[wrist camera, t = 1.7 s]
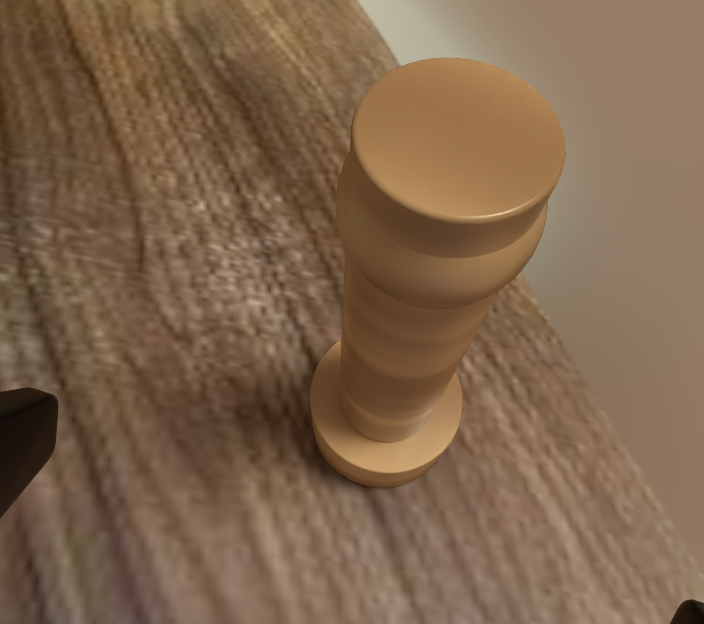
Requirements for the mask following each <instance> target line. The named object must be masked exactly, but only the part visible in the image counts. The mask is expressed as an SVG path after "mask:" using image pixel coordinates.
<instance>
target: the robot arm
mask: <svg viewBox="0 0 704 624" xmlns="http://www.w3.org/2000/svg"><path fill="white" fill-rule="evenodd" d="M57 419H58V400H57V398H56V397H55V396H54V395H53V394H50V393H47V392H44V391H41V390H37V389H34V388H21V389H15V390H10V391H4V392H0V518H1V517H2V516H3V515H4V513H5V512H6V511H7V510H8V509H9V507H10V506H11V505H12V504H13V502H14V501H15V500H16V499H17V498H18V496H19V495H20V494H21V493H22V492H23V490H24V489H25V488H26V487H27V486H28V484H29V483H30V482H31V481H32V480H33V478H34V477H35V476H36V475H37V473H38V472H39V471H40V470H41V469H42V467H43V466H44V465H45V464H46V463H47V461H48V460H49V458H50V457H51V455H52V453H53V451H54V448H55V443H56V432H57ZM670 624H704V603H702V602H698V601H695V600H686V601H684V602H683V603H682V604H681V605H680V606H679V608H678V610H677V611H676V613H675V615H674V617H673V619H672V621H671V622H670Z"/></svg>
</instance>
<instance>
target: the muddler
mask: <svg viewBox="0 0 704 624" xmlns="http://www.w3.org/2000/svg"><path fill="white" fill-rule="evenodd" d="M565 154H566V152H565V138H564V134H563V130H562V127H561V124H560V122H559V119H558V117H557V116H556V114H555V112H554V110H553V109H552V107H551V106H550V105H549V103H548V102H547V101H546V100H545V98H544V97H542V95H541V94H540V93H539V92H538V91H537V90H535V89H534V88H533V87H532V86H530V85H529V84H528V83H527V82H525V81H523V80H522V79H520V78H519V77H517V76H515V75H513V74H512V73H509V72H508V71H506V70H503V69H501V68H498V67H496V66H493V65H490V64H487V63H483V62H479V61H474V60H469V59H460V58H434V59H427V60H421V61H417V62H413V63H409V64H406V65H404V66H401V67H399V68H396V69H394V70H393V71H391V72H389V73H387V74H386V75H384V76H383V77H381V78H380V79H379V80H377V81H376V82H375V83H374V84H373V85H372V86H371V87H370V88H369V89H368V91H367V92H366V93H365V95H364V96H363V97H362V99H361V100H360V102H359V104H358V106H357V108H356V110H355V113H354V116H353V120H352V126H351V142H350V152H349V154H348V156H347V158H346V160H345V162H344V165H343V168H342V171H341V174H340V177H339V180H338V186H337V192H336V219H337V225H338V230H339V233H340V236H341V239H342V242H343V245H344V248H345V250H346V251H345V272H344V294H343V316H342V337H341V340H340V341H338V342H337V343H335V344H334V345H333V346H332V347H331V348H330V349H329V350H328V351H327V353H326V354H325V355H324V356H323V358H322V359H321V361H320V362H319V364H318V366H317V368H316V370H315V373H314V376H313V379H312V383H311V390H310V405H311V416H312V426H313V432H314V436H315V440H316V442H317V445H318V447H319V449H320V451H321V453H322V455H323V456H324V458H325V459H326V460H327V462H328V463H329V464H330V465H331V466H332V467H333V468H334V469H335V470H336V471H337V472H339V473H340V474H341V475H343V476H344V477H346V478H348V479H349V480H351V481H353V482H356V483H358V484H361V485H365V486H369V487H376V488H390V487H397V486H400V485H404V484H407V483H409V482H411V481H414V480H416V479H417V478H419V477H420V476H422V475H423V474H424V473H426V472H427V471H428V470H429V469H430V468H431V467H432V466H433V465H434V464H435V463H436V461H437V460H438V459H439V457H440V456H441V455H442V453H443V452H444V451H445V449H446V448H447V447H448V445H449V444H450V442H451V441H452V439H453V438H454V436H455V434H456V432H457V430H458V427H459V424H460V421H461V416H462V410H463V397H462V389H461V385H460V381H459V379H458V376H457V373H456V369H457V367H458V365H459V363H460V362H461V360H462V358H463V356H464V354H465V352H466V351H467V349H468V347H469V345H470V343H471V341H472V339H473V338H474V336H475V334H476V332H477V330H478V328H479V326H480V325H481V323H482V321H483V319H484V317H485V315H486V314H487V312H488V310H489V308H490V306H491V304H492V302H493V301H494V299H495V297H496V295H497V293H498V291H499V290H500V289H502V288H503V287H504V286H506V285H507V284H508V283H509V282H511V281H512V280H513V279H514V278H515V277H516V276H517V275H518V274H519V273H520V272H521V271H522V269H523V268H524V267H525V265H526V264H527V262H528V261H529V259H530V258H531V257H532V255H533V253H534V252H535V249H536V247H537V245H538V243H539V241H540V239H541V236H542V233H543V230H544V226H545V222H546V217H547V209H548V199H549V197H550V195H551V193H552V191H553V189H554V188H555V186H556V184H557V182H558V180H559V178H560V176H561V174H562V170H563V167H564V163H565Z"/></svg>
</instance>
